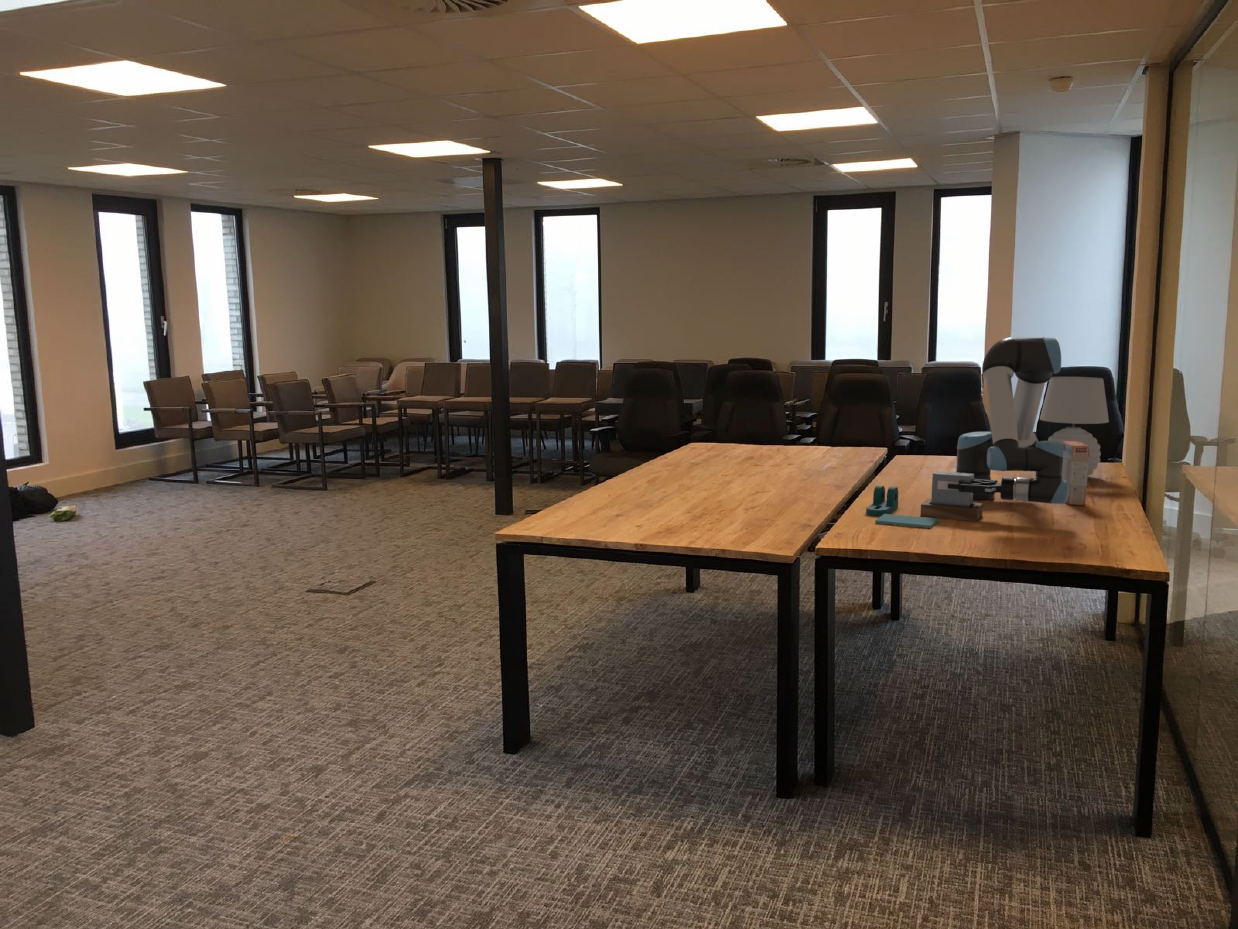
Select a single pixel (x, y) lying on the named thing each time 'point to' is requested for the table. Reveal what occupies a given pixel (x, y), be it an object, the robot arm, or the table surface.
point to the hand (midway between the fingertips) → (939, 483)
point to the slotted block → (951, 511)
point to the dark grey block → (951, 495)
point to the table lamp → (1076, 411)
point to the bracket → (883, 501)
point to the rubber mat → (907, 520)
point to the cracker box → (1075, 470)
